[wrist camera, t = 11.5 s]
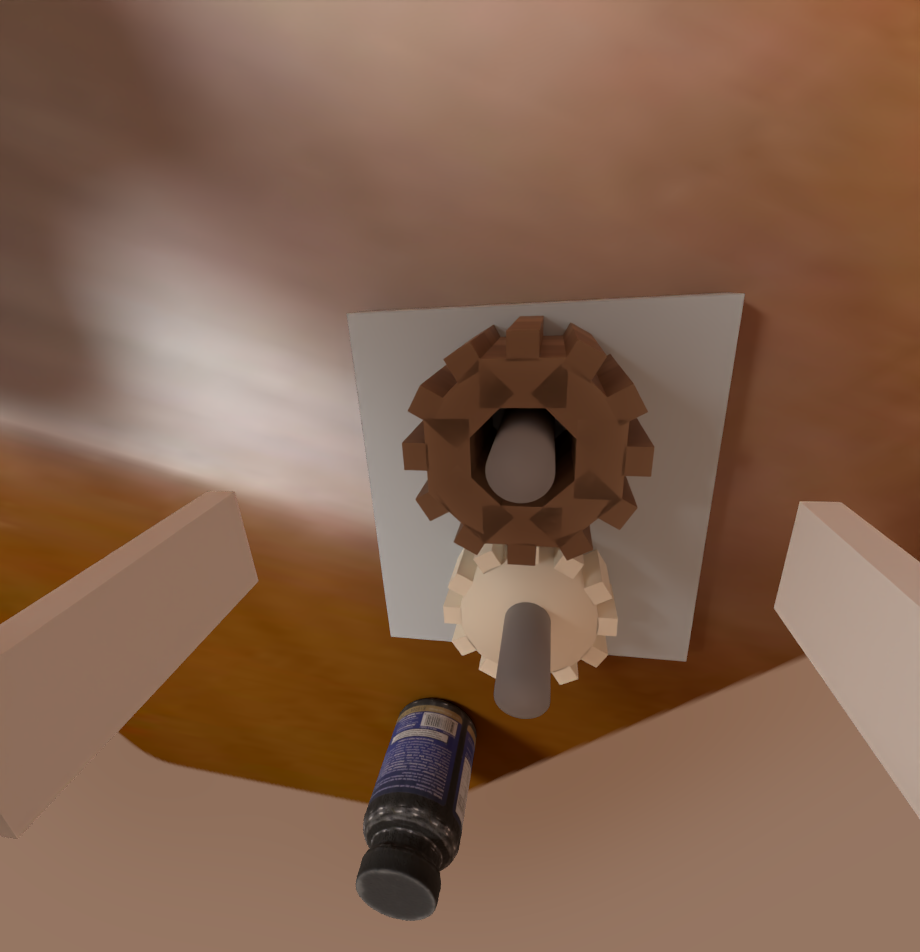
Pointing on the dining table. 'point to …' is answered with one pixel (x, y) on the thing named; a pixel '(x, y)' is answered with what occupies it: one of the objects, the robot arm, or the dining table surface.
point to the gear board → (665, 500)
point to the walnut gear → (576, 449)
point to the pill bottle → (417, 809)
